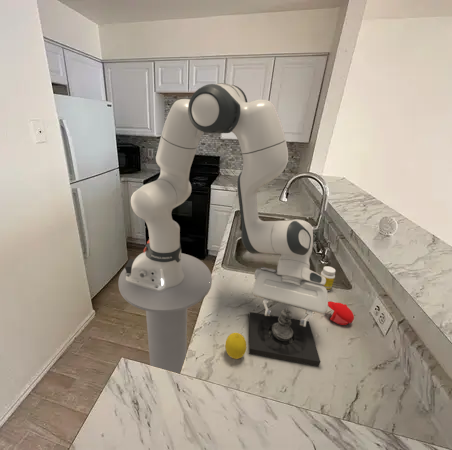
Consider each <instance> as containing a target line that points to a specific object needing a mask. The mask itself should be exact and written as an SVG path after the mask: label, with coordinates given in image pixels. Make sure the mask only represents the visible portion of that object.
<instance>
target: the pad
mask: <svg viewBox="0 0 452 450" xmlns="http://www.w3.org/2000/svg"><path fill="white" fill-rule="evenodd" d="M279 317H280V315H273V314H270V317H269V316H265V313H259V312H253V311H249V314H248V350H249V351H248V353H249V354H250V355H255V356H260V357H266V358H270V359H277V360H280V361H281V360H282V361H286V362H291V363H297V364H303V365H308V366H314V367H319V366H320V363H321V358H320V356H319V352H318V348H317V344H316V341H315V338H314V335H313V331H312V327H311V324H310V323H311V322H310V320H307V321H306V327H303V326H300V325H299V323H300V319H296V318H291V325H289V327H290V328H291V329H292V331H293V336H292V337H291V339H292V342H290V343H289V345H282V344H279V343H277V342H275V341H274V340H273V339H272V338H271V334H270V331H272V325H273V324H275V323H278V322H279V321H278V318H279Z"/></svg>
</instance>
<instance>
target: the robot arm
mask: <svg viewBox="0 0 452 450" xmlns="http://www.w3.org/2000/svg"><path fill="white" fill-rule="evenodd" d="M203 133H206V134H230V133H233V134H234V136H235V137H236V139H237V141H238V144H239V145H238V146H239V148H240V152H241V156H242V170H241V171H240V173H239V174H238V176H237V196H238V205H239V213H240V222H241V224H240V225H241V234H240V239H241V240H240V241H241V243H242V245H243V247H244V249H246V250H247V252H249V253H250V254H253V255H254V254H256V255H257V254H272V255H280V256H279V258H278V261H277V266H276V268H275V269H274V268H268V267H265V266H261V267H257V268H256V270H255V271H254V279H255V281H254V284H253V287H252V291H251V294H252V295H253V296H254V297H256V298H260V299H263V301H262V304H263V307H264V309H265V311H264V314H265V316H269V317H270V315H271V313H272V310H270V309H269V308H268V305H267V304H269V301H271V302H275V303H279V304H282V305H286V306H290V307H292V308H297V309H301V310H305V311H304V312H305V313H304V314H305V315H306V316H305V317H304V318H300V319H299V320H300V323H299V325H300V326H303V327H306V321H309V319H310V318H311V316H312V315H313V313H316V314H320V315H324V314H326V313H327V312H328V308H329V306H328V302H329V294H328V293H329V292H328V291H327V290H326V288H325V287H324V285H325V283H326V278H325V277H323V276H321V275H320V274H319V273H318V272H315V271H314V270H312V269H311V268H310V267H311V264H310V263H311V262H310V258H311V256H312V253H313V248H314V247H313V245H314V229H313V226H312V224H311V223H309V222H308V221H306V220H303V219H297V218H296V219H291V220H289V219H288V220H265V221H264V220H262V219H261V218H260V217H259V206H258V192H259V190H260V189H261V188H263V187H264V186H265V185H267V184H269V183H270V182H272V181H273V180H275V179H276V178H278V177H279V176H280V175H281V174H282V173H283V172H284V170H286V168H287V165H288V162H289V149H288V145H287V139H286V134H285V131H284V127H283V124H282V121H281V118H280V116H279V113H278V111H277V109H276V106H275V105H274V104H273V102H272V101H270V100H268V99H254V100H252V101H248V98H247V95H246V94H245V92H244V91H243V90H242V88H240V87H239V86H237V85H236V84H235V85H234V84H230V83H227V82H226V83H225V82H221V83H220V82H219V83H209V84H205V85H202V86H201V87H199V88H197V90H196V91H194V93H192V95H191V97H190V99H189V98H181V99H177V100H175V102H174V103H172V105H171V107H170V110H169V111H168V114H167V116H166V119H165V121H164V124H163V127H162V131H161V135H160V138H159V143H158V146H157V150H156V155H155V162H156V164H157V166H158V167H159V169H160V173H159V176H158V178H157V179H156V180H153V181H151V182H147V183H145V184H143V185H142V186H140V187H139V188H138V189H136V190H135V191H134V192H133V193H132V194H131V197H130V207H131V209H132V211H133V213H134V214H135V215H136V216H137V217H138V218H139V219H141V220H143V221H144V222H145V224H146V226H147V230H148V237H149V238H148V240H147V241H146V244H145V246H144V248H143V252H142V253H139V255H137V256H136V257H135V258H134V259H131V258H130V259H128V261H127V263H126V264H125V267H124V268H125V270H126V273H127V274H126V282H127V283H130V284H134V285H137V286H140V287H143V288H147V289H150V290H153V291H156V292H162V291H164V290H165V289H167V288H171V287H174V286H176V285H178V284H180V283H181V282H182V281H183V279H184V273H183V271H182V267H181V260H180V259H181V253H182V245H181V233H180V232H181V226H180V224H179V223H178V222H177V221H175V220H174V219H173V216H172V212H173V210H174V209H176V208H177V207H179V206H181V205H182V204H184V203H185V202H186V201H187V200H188V199H189V197H190V196H191V193H192V184H191V182H190V173H191V167H192V164H193V161H194V158H195V155H196V153H197V149H198V146H199V144H200V140H201V138H202V136H203Z"/></svg>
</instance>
